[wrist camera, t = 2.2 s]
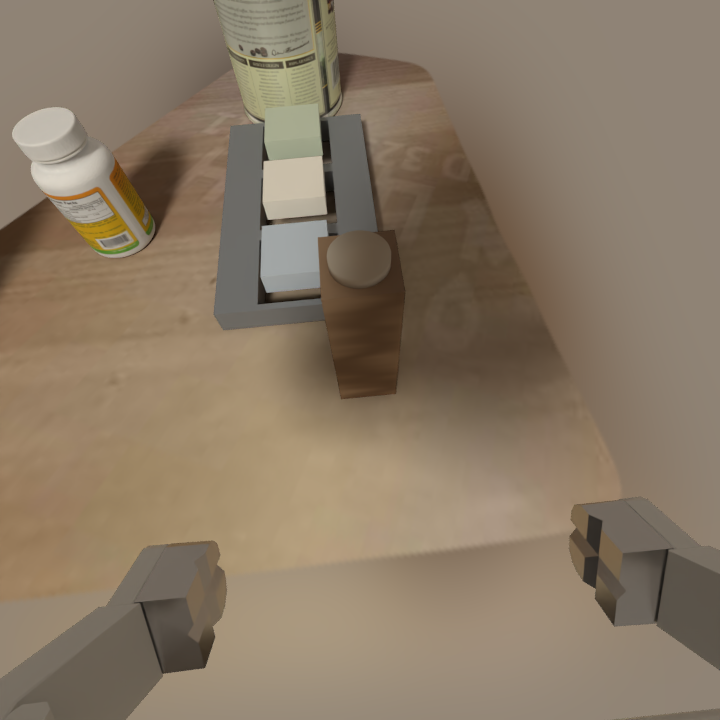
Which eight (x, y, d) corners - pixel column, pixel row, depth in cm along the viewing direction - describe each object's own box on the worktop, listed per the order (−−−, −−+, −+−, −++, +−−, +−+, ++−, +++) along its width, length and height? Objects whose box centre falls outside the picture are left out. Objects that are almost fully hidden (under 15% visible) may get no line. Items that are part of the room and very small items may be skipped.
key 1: (266, 292, 29) (260, 277, 27) (267, 243, 31) (262, 226, 29) (332, 286, 29) (330, 270, 27) (329, 237, 31) (326, 219, 30)
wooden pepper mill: (341, 398, 27) (319, 291, 17) (337, 351, 29) (315, 227, 19) (395, 393, 27) (406, 283, 17) (388, 346, 29) (394, 220, 19)
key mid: (267, 219, 32) (262, 202, 31) (268, 179, 34) (263, 161, 33) (327, 214, 32) (324, 196, 31) (324, 174, 34) (321, 155, 33)
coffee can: (235, 86, 45) (180, -103, 32) (327, 66, 46) (308, -125, 34) (254, 144, 40) (198, -52, 28) (355, 119, 41) (345, -79, 29)
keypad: (223, 330, 30) (213, 314, 28) (237, 145, 40) (230, 126, 38) (387, 314, 30) (387, 297, 29) (360, 134, 40) (360, 113, 38)
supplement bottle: (124, 205, 37) (47, 91, 28) (170, 225, 35) (103, 112, 27) (78, 245, 35) (-20, 136, 26) (125, 269, 33) (37, 162, 25)
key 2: (269, 160, 35) (264, 142, 34) (269, 127, 38) (265, 108, 36) (322, 155, 35) (320, 136, 34) (320, 122, 38) (318, 103, 36)
